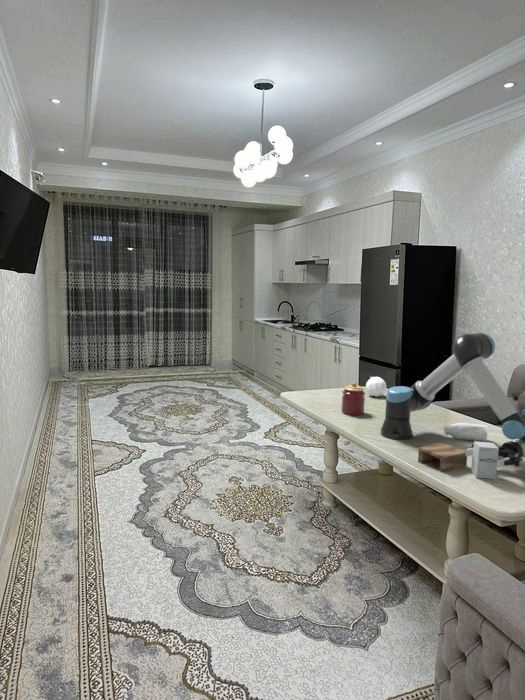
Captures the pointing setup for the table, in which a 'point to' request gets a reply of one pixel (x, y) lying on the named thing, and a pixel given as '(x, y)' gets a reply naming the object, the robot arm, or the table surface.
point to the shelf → (443, 456)
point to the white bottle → (467, 431)
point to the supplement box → (484, 460)
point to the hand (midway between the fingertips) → (481, 458)
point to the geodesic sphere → (376, 386)
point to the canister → (353, 400)
